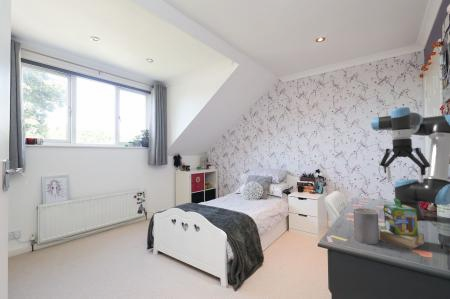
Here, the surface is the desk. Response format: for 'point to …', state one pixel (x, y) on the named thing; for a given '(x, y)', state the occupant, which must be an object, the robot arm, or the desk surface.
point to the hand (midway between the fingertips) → (404, 180)
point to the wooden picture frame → (402, 239)
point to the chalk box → (400, 219)
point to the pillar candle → (366, 226)
